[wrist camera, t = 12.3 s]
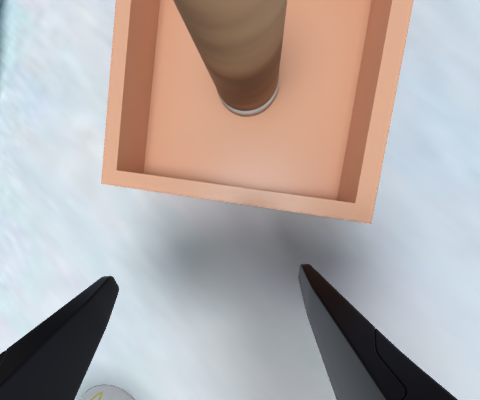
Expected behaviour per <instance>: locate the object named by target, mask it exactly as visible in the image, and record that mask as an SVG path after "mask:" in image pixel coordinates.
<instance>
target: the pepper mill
mask: <svg viewBox="0 0 480 400" xmlns="http://www.w3.org/2000/svg"><path fill="white" fill-rule="evenodd" d="M173 1H174V3H175V5H176V7H177V9H178V11H179V13H180V15H181V17H182V19H183V21H184V23H185V25H186V27H187V29H188V31H189V33H190V36H191V38H192V40H193V42H194V44H195V46H196V48H197V50H198V52H199V54H200V56H201V58H202V60H203V62H204V64H205V66H206V68H207V70H208V72H209V74H210V76H211V78H212V80H213V82H214V84H215V86H216V89H217V93H218V95H219V97H220V99H221V101H222V103H223V104H224V106H225V107H226V108H227V109H228V110H229V111H230V112H232V113H234V114H235V115H238V116H243V117H251V116H255V115H258V114H260V113H262V112H264V111H265V110H266V109H267V108H269V106H270V105H271V104H272V103H273V101H274V100H275V98H276V95H277V92H278V87H279V79H280V74H279V68H280V59H281V51H282V42H283V33H284V25H285V16H286V7H287V0H173Z"/></svg>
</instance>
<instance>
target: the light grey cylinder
mask: <svg viewBox="0 0 480 400" xmlns="http://www.w3.org/2000/svg"><path fill="white" fill-rule="evenodd" d="M79 400H134V399H133V398H132V397H131V396H130V395H129V394H128V393H127V392H125V391H123V390H122V389H120V388H117V387H115V386H110V385H99V386H95V387H93V388H91V389H89V390H88V391H87V392H86V393H85V394H84V395H83V396H82V397H81V398H80V399H79Z"/></svg>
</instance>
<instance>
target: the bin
mask: <svg viewBox="0 0 480 400" xmlns="http://www.w3.org/2000/svg"><path fill="white" fill-rule="evenodd" d="M412 6H413V0H287V7H286V16H285V25H284V33H283V42H282V51H281V59H280V68H279V74H280V79H279V87H278V92H277V95H276V98H275V100H274V101H273V103H272V104H271V105H270V106H269V108H267V109H266V110H265V111H264V112H262V113H260V114H258V115H255V116H251V117H243V116H238V115H235V114H234V113H232V112H230V111H229V110H228V109H227V108H226V107H225V106H224V104H223V103H222V101H221V99H220V97H219V95H218V93H217V89H216V86H215V84H214V82H213V80H212V78H211V76H210V74H209V72H208V70H207V68H206V66H205V64H204V62H203V60H202V58H201V56H200V54H199V52H198V50H197V48H196V46H195V44H194V42H193V40H192V38H191V36H190V33H189V31H188V29H187V27H186V25H185V23H184V21H183V19H182V17H181V15H180V13H179V11H178V9H177V7H176V5H175V3H174V1H173V0H116V6H115V19H114V31H113V44H112V56H111V68H110V81H109V93H108V106H107V118H106V131H105V143H104V156H103V168H102V181H101V184H107V185H114V186H120V187H127V188H134V189H141V190H147V191H154V192H161V193H168V194H174V195H181V196H188V197H195V198H201V199H208V200H215V201H222V202H228V203H235V204H242V205H249V206H255V207H262V208H269V209H276V210H282V211H289V212H296V213H303V214H309V215H316V216H323V217H330V218H336V219H343V220H350V221H357V222H363V223H370V224H371V221H372V216H373V211H374V206H375V200H376V195H377V190H378V185H379V179H380V174H381V169H382V164H383V158H384V153H385V148H386V143H387V137H388V132H389V127H390V121H391V116H392V111H393V106H394V100H395V95H396V90H397V85H398V79H399V74H400V69H401V64H402V58H403V53H404V48H405V43H406V37H407V32H408V27H409V21H410V16H411V11H412Z"/></svg>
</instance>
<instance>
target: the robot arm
mask: <svg viewBox="0 0 480 400" xmlns="http://www.w3.org/2000/svg"><path fill="white" fill-rule="evenodd" d="M299 283H300V287H301V292H302V296H303V300H304V304H305V309H306V312H307V316H308V319H309V322H310V325H311V328H312V330H313V333H314V336H315V339H316V342H317V345H318V348H319V350H320V353H321V356H322V359H323V362H324V365H325V368H326V370H327V373H328V376H329V379H330V382H331V385H332V388H333V390H334V393H335V396H336V399H337V400H457V399H456V398H455V397H454V396H453V395H451V394H450V393H449V392H448V391H447V390H446V389H444V388H443V387H442V386H441V385H440V384H438V383H437V382H436V381H435V380H434V379H432V378H431V377H430V376H429V375H428V374H426V373H425V372H424V371H423V370H422V369H420V368H419V367H418V366H417V365H416V364H415V363H413V362H412V361H411V360H410V359H409V358H408V357H407V356H405V355H404V354H403V353H402V352H401V351H400V350H399V349H398V348H396V347H395V346H394V345H393V344H392V343H391V342H390V341H389V340H388V339H387V338H386V337H385V336H384V335H383V334H381V333H380V332H379V331H378V330H377V329H375V327H374V326H373V325H372V324H371V323H370V322H369V321H368V320H367V319H366V318H365V317H364V316H363V315H362V314H361V313H360V312H359V311H357V310H356V309H355V308H354V307H353V306H352V305H351V304H350V303H349V302H348V301H347V300H346V299H345V298H344V297H343V296H342V295H341V294H340V293H339V292H338V291H337V290H336V289H335V288H334V287H333V286H331V285H330V284H329V283H328V282H327V281H326V280H325V279H324V278H323V277H322V276H321V275H320V274H319V273H318V272H317V271H316V270H315V269H314V268H313V267H312V266H311V265H309V264H301V265H300V268H299ZM118 292H119V287H118V285H117V283H116V281H115V279H114V278H113V277H112V276H104V277H102V278H100V279H99V280H97V281H96V282H95V283H93V284H92V285H91V286H90V287H88V288H87V289H86V290H84V291H83V292H82V293H80V294H79V295H78V296H76V297H75V298H74V299H72V300H71V301H70V302H68V303H67V304H66V305H64V306H63V307H62V308H61V309H59V310H58V311H57V312H55V313H54V314H53V315H51V316H50V317H49V318H47V319H46V320H45V321H43V322H42V323H41V324H39V325H38V326H37V327H35V328H34V329H33V330H32V331H30V332H29V333H28V334H26V335H25V336H24V337H22V338H21V339H20V340H18V341H17V342H16V343H14V344H13V345H12V346H10V347H9V348H8V349H7V350H6V351H4V352H2V353H1V354H0V400H74V399H75V397H76V395H77V392H78V390H79V388H80V386H81V383H82V381H83V379H84V376H85V374H86V372H87V370H88V367H89V365H90V363H91V361H92V358H93V356H94V354H95V352H96V349H97V347H98V345H99V343H100V340H101V338H102V336H103V334H104V331H105V329H106V327H107V324H108V321H109V319H110V316H111V313H112V310H113V307H114V304H115V301H116V298H117V295H118Z"/></svg>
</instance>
